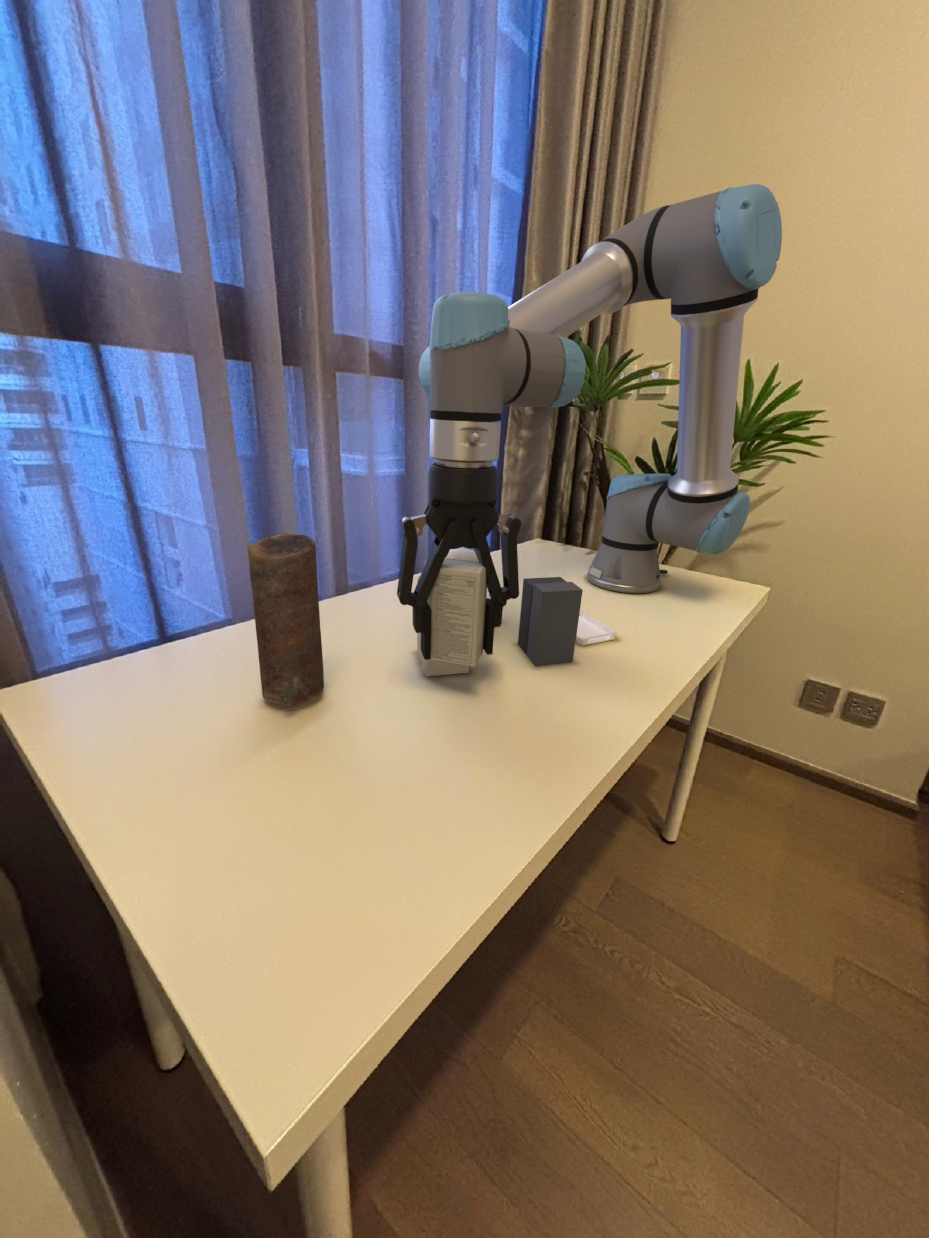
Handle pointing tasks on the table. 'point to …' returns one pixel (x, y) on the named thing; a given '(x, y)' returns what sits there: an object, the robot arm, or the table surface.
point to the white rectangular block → (438, 662)
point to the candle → (287, 618)
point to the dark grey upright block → (549, 620)
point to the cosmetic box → (458, 612)
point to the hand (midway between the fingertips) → (456, 651)
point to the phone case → (592, 631)
